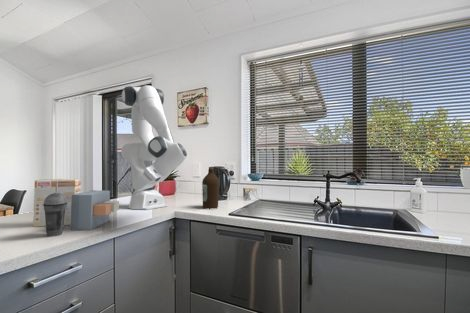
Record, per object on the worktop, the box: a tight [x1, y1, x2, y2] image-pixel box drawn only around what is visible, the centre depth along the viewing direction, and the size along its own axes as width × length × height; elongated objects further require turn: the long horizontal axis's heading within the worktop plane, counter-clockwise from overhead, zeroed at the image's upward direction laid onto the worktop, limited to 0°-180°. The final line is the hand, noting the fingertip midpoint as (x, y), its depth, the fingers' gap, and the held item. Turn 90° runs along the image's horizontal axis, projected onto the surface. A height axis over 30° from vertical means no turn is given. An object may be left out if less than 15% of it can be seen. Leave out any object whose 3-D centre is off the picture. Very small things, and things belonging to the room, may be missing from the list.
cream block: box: [103, 200, 120, 213], centre depth 103 cm, size 6×4×4 cm, turn 91°
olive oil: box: [201, 166, 220, 210], centre depth 141 cm, size 11×11×25 cm
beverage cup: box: [43, 181, 67, 237], centre depth 86 cm, size 7×7×20 cm
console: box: [70, 189, 111, 231], centre depth 99 cm, size 8×14×14 cm, turn 1°
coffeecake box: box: [32, 178, 82, 228], centre depth 100 cm, size 15×7×20 cm, turn 105°
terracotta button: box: [93, 204, 112, 215], centre depth 96 cm, size 6×4×4 cm, turn 91°
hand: (135, 194), depth 103 cm, fingers closed
